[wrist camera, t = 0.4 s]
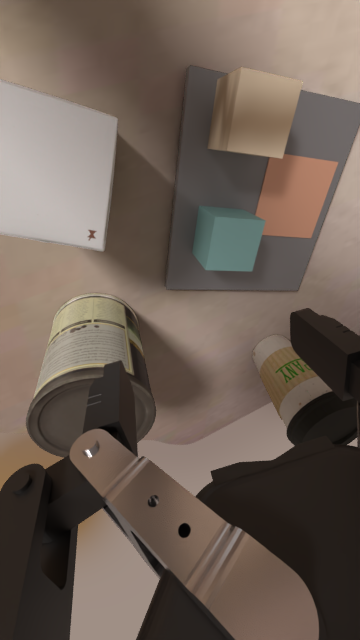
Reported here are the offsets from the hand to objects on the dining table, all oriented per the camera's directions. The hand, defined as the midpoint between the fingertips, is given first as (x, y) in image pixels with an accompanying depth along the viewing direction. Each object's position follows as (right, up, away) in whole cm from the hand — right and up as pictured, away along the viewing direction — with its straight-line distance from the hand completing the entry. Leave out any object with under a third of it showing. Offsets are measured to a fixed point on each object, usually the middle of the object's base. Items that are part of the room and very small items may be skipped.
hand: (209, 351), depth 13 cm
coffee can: (-12, 0, +22) cm, 25 cm away
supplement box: (-11, +16, +12) cm, 23 cm away
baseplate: (+7, +14, +18) cm, 24 cm away
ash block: (+4, +20, +13) cm, 24 cm away
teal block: (+3, +11, +18) cm, 21 cm away
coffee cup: (+13, -3, +31) cm, 34 cm away
